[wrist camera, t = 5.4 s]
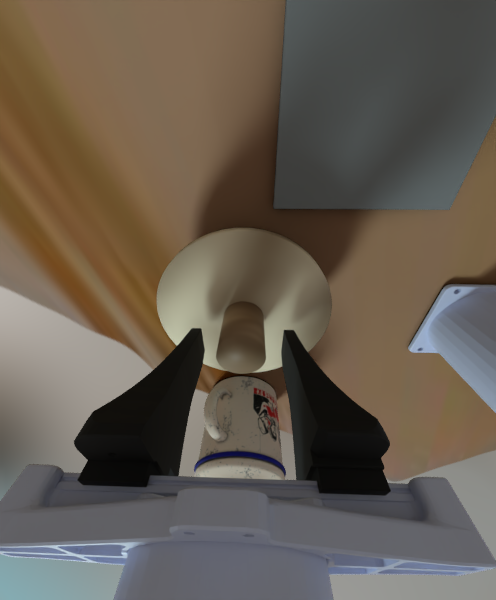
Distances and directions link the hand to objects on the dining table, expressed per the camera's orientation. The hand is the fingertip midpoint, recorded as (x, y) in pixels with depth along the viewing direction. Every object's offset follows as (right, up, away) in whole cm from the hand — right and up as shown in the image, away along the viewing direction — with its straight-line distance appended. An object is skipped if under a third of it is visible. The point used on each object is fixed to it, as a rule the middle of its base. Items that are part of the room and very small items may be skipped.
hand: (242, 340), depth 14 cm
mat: (+8, +14, -2) cm, 17 cm away
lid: (0, +2, +2) cm, 2 cm away
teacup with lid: (-1, -9, +14) cm, 16 cm away
